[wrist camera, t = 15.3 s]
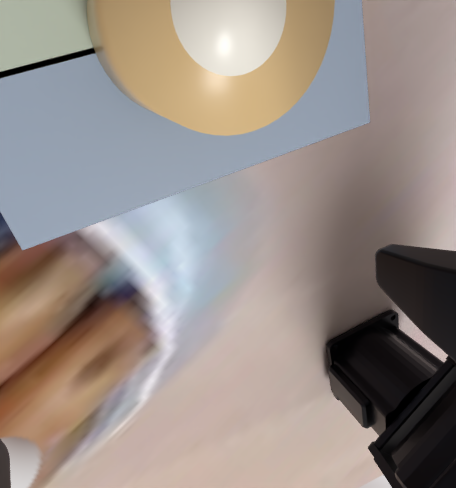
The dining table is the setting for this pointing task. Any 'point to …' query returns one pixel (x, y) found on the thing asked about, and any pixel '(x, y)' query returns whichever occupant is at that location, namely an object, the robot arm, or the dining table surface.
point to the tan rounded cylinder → (212, 57)
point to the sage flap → (41, 31)
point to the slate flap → (146, 138)
